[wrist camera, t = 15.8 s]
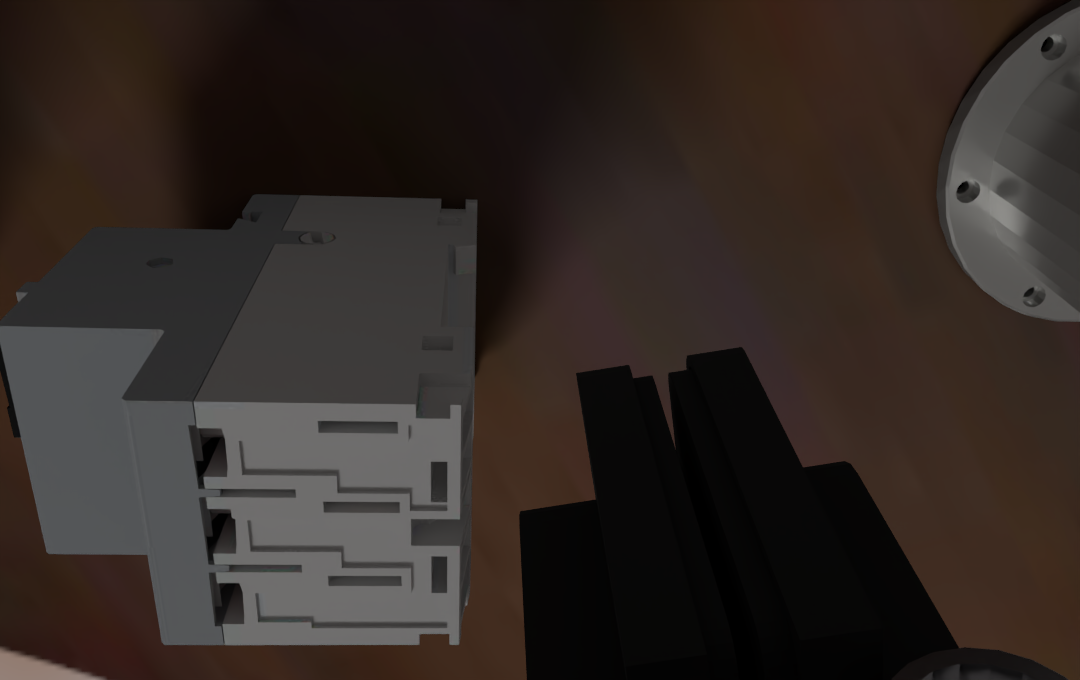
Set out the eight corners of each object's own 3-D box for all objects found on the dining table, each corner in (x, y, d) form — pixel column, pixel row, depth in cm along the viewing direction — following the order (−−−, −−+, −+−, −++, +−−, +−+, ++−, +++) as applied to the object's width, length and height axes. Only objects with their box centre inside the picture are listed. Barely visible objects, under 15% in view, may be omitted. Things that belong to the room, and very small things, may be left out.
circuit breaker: (82, 189, 36) (-154, 397, 23) (477, 199, 37) (472, 405, 24) (113, 371, 40) (-78, 645, 26) (474, 377, 41) (468, 644, 27)
